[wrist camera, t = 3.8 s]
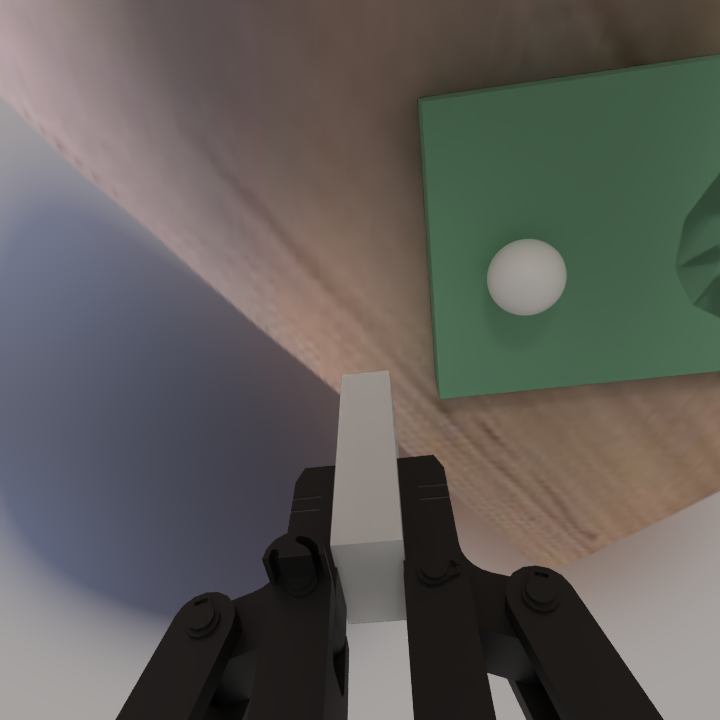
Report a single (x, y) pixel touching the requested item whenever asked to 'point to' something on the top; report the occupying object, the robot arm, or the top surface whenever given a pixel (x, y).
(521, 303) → the ball
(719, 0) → the top surface
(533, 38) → the top surface
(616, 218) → the green
